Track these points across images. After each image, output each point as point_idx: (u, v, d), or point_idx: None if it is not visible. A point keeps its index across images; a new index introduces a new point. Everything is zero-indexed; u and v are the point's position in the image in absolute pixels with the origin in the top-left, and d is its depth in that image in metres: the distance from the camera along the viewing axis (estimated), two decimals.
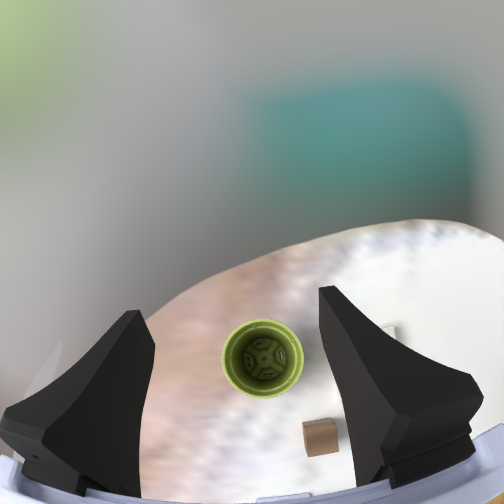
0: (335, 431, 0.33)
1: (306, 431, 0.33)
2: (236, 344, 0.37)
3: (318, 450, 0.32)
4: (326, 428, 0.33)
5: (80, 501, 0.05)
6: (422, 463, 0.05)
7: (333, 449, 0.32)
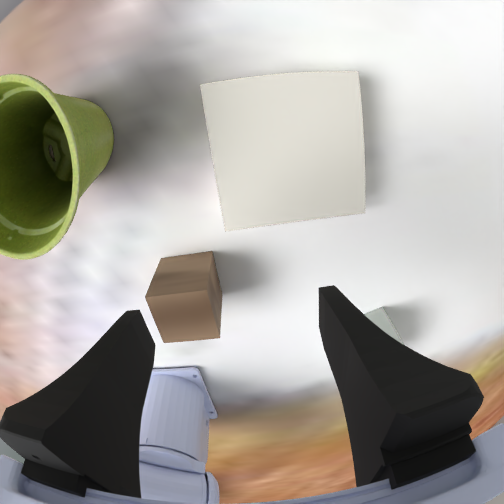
0: (207, 303, 0.19)
1: (148, 299, 0.18)
2: None
3: (179, 333, 0.20)
4: (187, 297, 0.18)
5: (80, 501, 0.05)
6: (422, 463, 0.05)
7: (208, 333, 0.20)
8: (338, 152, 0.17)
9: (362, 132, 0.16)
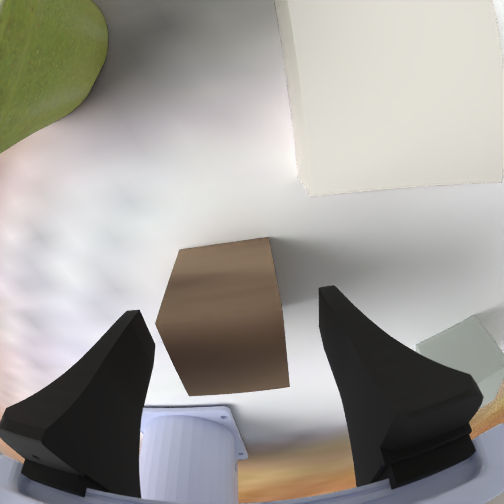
0: (278, 333, 0.10)
1: (161, 328, 0.09)
2: None
3: (219, 383, 0.11)
4: (240, 324, 0.09)
5: (80, 501, 0.05)
6: (422, 463, 0.05)
7: (271, 382, 0.11)
8: (480, 84, 0.08)
9: (501, 65, 0.07)
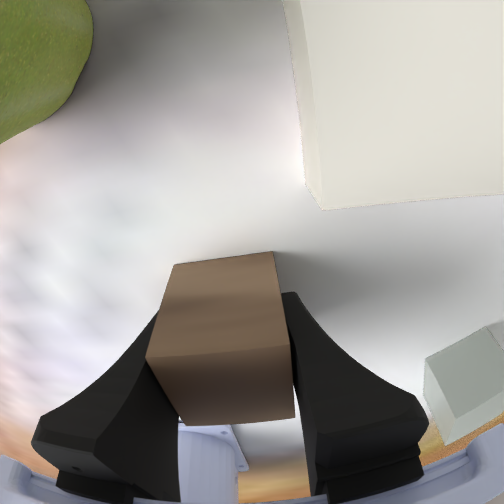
0: (285, 367, 0.08)
1: (152, 362, 0.08)
2: None
3: (218, 415, 0.09)
4: (242, 359, 0.08)
5: (80, 501, 0.05)
6: (361, 482, 0.05)
7: (275, 413, 0.09)
8: None
9: None
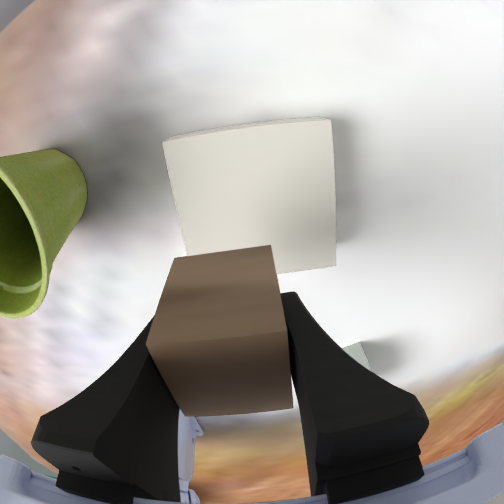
0: (282, 355, 0.08)
1: (152, 349, 0.08)
2: None
3: (217, 404, 0.10)
4: (240, 345, 0.08)
5: (80, 501, 0.05)
6: (361, 482, 0.05)
7: (273, 403, 0.10)
8: (308, 208, 0.17)
9: (334, 186, 0.17)
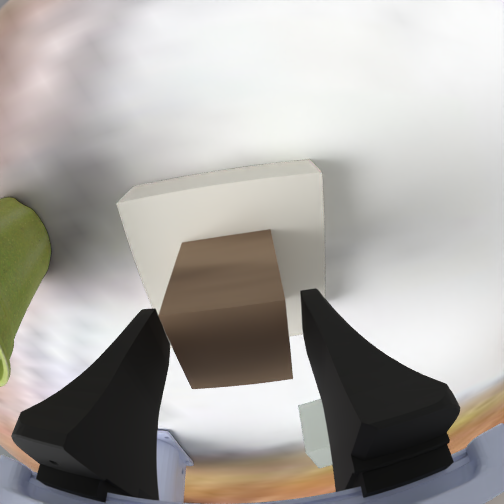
0: (281, 324, 0.10)
1: (165, 320, 0.09)
2: None
3: (222, 375, 0.11)
4: (244, 314, 0.09)
5: (80, 501, 0.05)
6: (395, 472, 0.05)
7: (274, 373, 0.11)
8: (291, 275, 0.15)
9: (324, 249, 0.14)
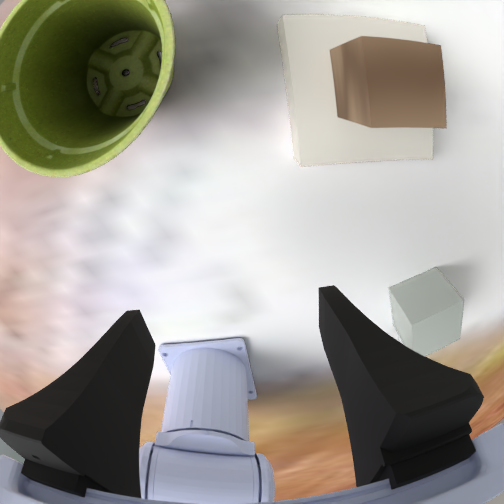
0: (439, 64, 0.10)
1: (365, 41, 0.09)
2: (31, 52, 0.09)
3: (399, 110, 0.11)
4: (418, 48, 0.09)
5: (80, 501, 0.05)
6: (422, 463, 0.05)
7: (435, 117, 0.11)
8: None
9: None
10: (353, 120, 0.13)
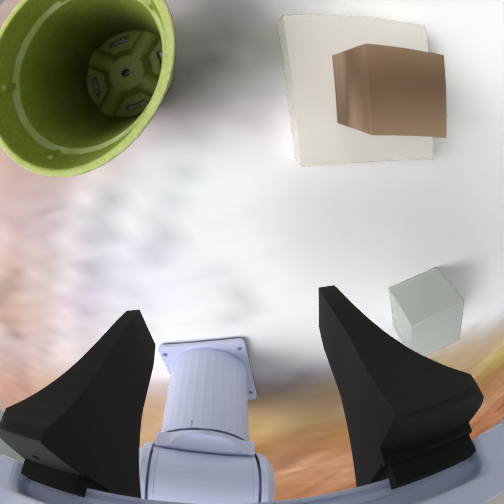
0: (441, 74, 0.10)
1: (369, 48, 0.10)
2: (31, 52, 0.09)
3: (400, 118, 0.11)
4: (421, 58, 0.10)
5: (80, 501, 0.05)
6: (422, 463, 0.05)
7: (435, 126, 0.11)
8: None
9: None
10: (354, 127, 0.13)
